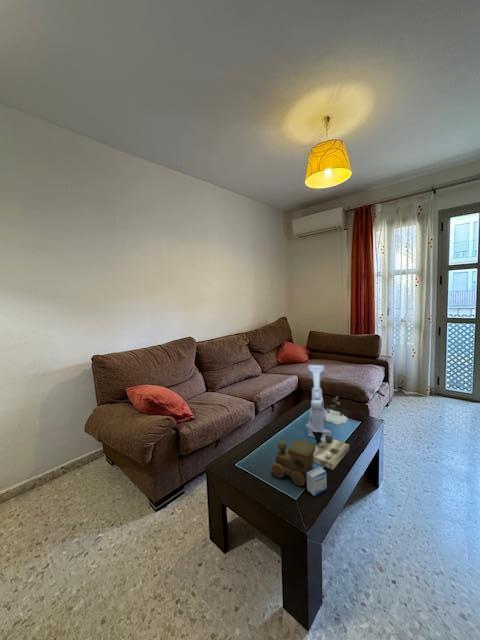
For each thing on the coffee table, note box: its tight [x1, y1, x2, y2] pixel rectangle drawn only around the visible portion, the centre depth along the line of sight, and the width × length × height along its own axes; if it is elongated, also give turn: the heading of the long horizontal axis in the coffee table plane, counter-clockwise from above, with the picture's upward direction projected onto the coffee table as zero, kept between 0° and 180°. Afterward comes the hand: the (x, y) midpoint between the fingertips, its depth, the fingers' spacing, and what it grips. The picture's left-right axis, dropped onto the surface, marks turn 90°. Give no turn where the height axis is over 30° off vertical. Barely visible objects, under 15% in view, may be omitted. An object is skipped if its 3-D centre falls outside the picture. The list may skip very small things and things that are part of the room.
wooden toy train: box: [270, 439, 316, 487], centre depth 124 cm, size 20×11×17 cm, turn 54°
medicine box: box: [306, 466, 328, 497], centre depth 114 cm, size 8×4×9 cm, turn 117°
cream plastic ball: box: [325, 451, 331, 458], centre depth 132 cm, size 3×3×3 cm
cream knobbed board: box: [313, 437, 350, 471], centre depth 140 cm, size 14×22×3 cm, turn 137°
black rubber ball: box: [325, 435, 334, 442], centre depth 147 cm, size 4×4×4 cm
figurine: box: [325, 396, 349, 425], centre depth 180 cm, size 20×18×16 cm
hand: (318, 443), depth 143 cm, fingers closed, pressing on steel ball
